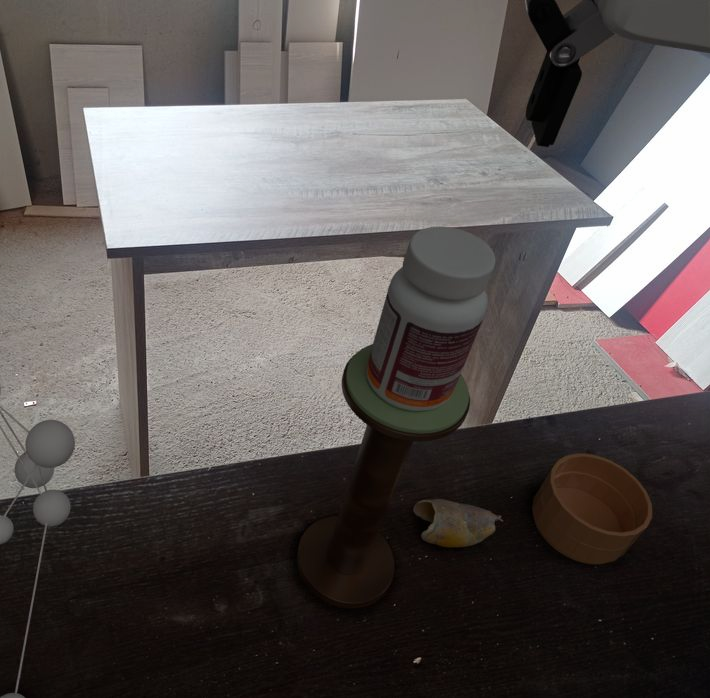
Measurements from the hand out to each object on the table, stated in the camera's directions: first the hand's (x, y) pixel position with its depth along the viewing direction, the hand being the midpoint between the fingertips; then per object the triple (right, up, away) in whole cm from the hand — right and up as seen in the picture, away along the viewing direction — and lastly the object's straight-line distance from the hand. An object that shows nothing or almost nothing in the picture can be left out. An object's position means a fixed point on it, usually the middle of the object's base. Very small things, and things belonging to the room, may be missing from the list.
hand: (634, 150), depth 37 cm
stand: (-11, -30, +30) cm, 44 cm away
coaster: (-9, -13, +13) cm, 21 cm away
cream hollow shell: (0, -28, +33) cm, 44 cm away
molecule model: (-43, -31, +26) cm, 59 cm away
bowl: (+13, -28, +35) cm, 47 cm away
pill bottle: (-9, -13, +13) cm, 20 cm away
